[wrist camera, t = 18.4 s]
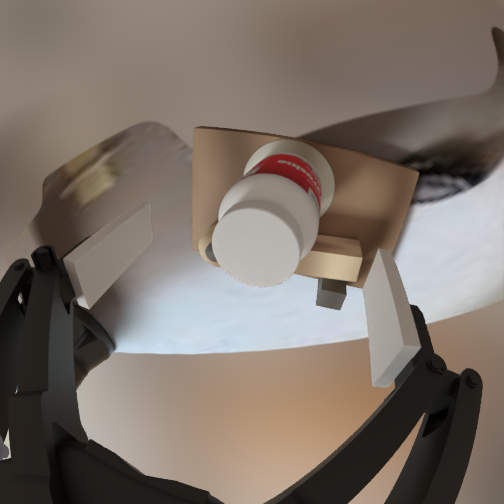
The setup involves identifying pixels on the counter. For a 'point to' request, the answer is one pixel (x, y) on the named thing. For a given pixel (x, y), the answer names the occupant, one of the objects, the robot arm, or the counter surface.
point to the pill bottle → (269, 220)
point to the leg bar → (311, 256)
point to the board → (333, 192)
